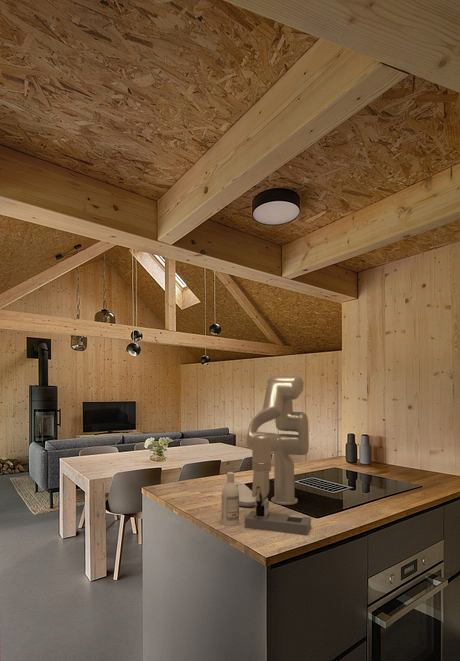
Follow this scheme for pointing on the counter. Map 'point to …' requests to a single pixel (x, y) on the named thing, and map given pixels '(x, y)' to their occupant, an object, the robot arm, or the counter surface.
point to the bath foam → (230, 502)
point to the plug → (265, 508)
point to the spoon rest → (245, 496)
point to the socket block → (279, 523)
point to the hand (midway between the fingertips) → (261, 513)
